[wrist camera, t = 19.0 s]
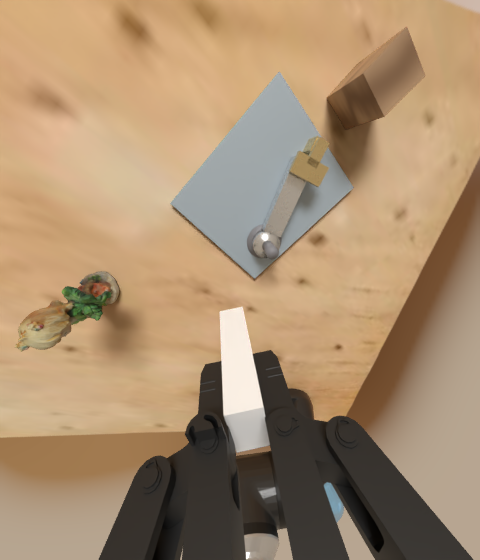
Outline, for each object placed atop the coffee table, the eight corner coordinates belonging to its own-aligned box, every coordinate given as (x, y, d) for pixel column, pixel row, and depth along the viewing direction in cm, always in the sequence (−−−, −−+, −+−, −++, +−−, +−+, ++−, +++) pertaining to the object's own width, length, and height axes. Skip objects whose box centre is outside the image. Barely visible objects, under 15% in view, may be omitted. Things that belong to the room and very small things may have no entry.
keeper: (324, 150, 32) (340, 147, 28) (306, 185, 34) (318, 186, 30) (298, 134, 30) (310, 128, 26) (280, 171, 32) (290, 171, 28)
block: (374, 99, 30) (425, 76, 22) (345, 129, 31) (384, 116, 24) (357, 64, 28) (406, 26, 21) (326, 97, 29) (363, 73, 22)
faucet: (270, 257, 37) (273, 261, 36) (247, 249, 36) (249, 253, 35) (312, 167, 32) (318, 166, 30) (287, 154, 30) (291, 153, 29)
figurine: (96, 308, 40) (36, 377, 26) (66, 275, 36) (-20, 335, 23) (139, 290, 39) (100, 351, 26) (113, 255, 35) (52, 304, 22)
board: (350, 187, 35) (380, 190, 28) (253, 276, 40) (261, 295, 34) (277, 74, 27) (296, 44, 21) (171, 202, 33) (161, 209, 26)
